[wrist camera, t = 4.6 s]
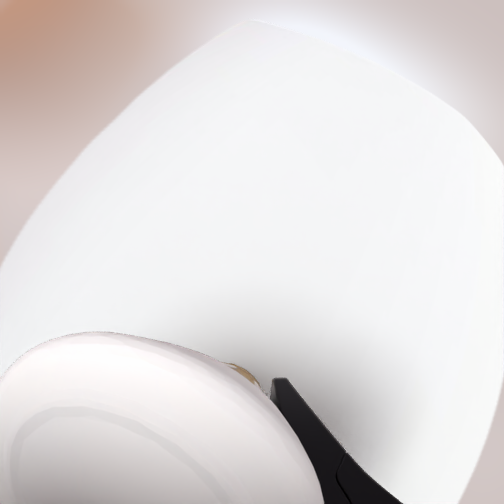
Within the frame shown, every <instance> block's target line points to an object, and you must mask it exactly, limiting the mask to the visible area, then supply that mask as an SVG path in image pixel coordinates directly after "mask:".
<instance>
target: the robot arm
mask: <svg viewBox="0 0 504 504" xmlns="http://www.w3.org/2000/svg"><path fill="white" fill-rule="evenodd" d="M270 400H271V401H272V402H273V403H274V405H275V406H276V407H277V408H278V410H279V411H280V412H281V413H282V415H283V416H284V418H285V419H286V421H287V422H288V423H289V425H290V426H291V428H292V429H293V431H294V432H295V434H296V435H297V437H298V439H299V440H300V442H301V444H302V446H303V448H304V450H305V452H306V453H307V455H308V457H309V459H310V461H311V463H312V465H313V467H314V470H315V473H316V475H317V478H318V481H319V483H320V487H321V491H322V496H323V500H324V504H403V503H402V502H400V501H399V500H398V499H396V498H395V497H394V496H393V495H392V494H390V493H389V492H388V491H387V490H385V489H384V488H383V487H382V486H381V485H379V484H378V483H377V482H376V481H375V480H374V479H372V478H371V477H370V476H369V475H368V474H367V473H366V472H365V471H364V470H363V469H362V468H361V467H360V466H359V465H358V464H357V463H356V462H355V461H354V459H353V458H352V457H351V456H350V455H349V454H348V453H346V450H345V449H344V448H343V447H342V446H341V444H340V443H339V442H338V441H337V440H336V438H335V437H334V436H333V435H332V434H331V433H330V431H329V430H328V429H327V428H326V427H325V425H324V424H323V423H322V422H321V420H320V419H319V418H318V417H317V416H316V414H315V413H314V412H313V411H312V409H311V408H310V407H309V406H308V405H307V403H306V402H305V401H304V400H303V398H302V397H301V396H300V395H299V393H298V392H297V391H296V390H295V388H294V387H293V386H292V385H291V383H290V382H289V381H288V379H287V378H273V380H272V386H271V394H270Z"/></svg>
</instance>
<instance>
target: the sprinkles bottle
mask: <svg viewBox="0 0 504 504" xmlns="http://www.w3.org/2000/svg"><path fill="white" fill-rule="evenodd" d="M0 504H324V500H323V496H322V491H321V487H320V483H319V481H318V478H317V475H316V473H315V470H314V467H313V465H312V463H311V461H310V459H309V457H308V455H307V453H306V452H305V450H304V448H303V446H302V444H301V442H300V440H299V439H298V437H297V435H296V434H295V432H294V431H293V429H292V428H291V426H290V425H289V423H288V422H287V421H286V419H285V418H284V416H283V415H282V413H281V412H280V411H279V410H278V408H277V407H276V406H275V405H274V403H273V402H272V401H271V400H270V399H269V398H268V397H267V396H266V395H265V394H264V392H263V391H262V389H261V387H260V385H259V383H258V381H257V380H256V379H255V378H254V377H253V376H252V375H251V374H250V373H249V372H248V371H247V370H245V369H243V368H241V367H239V366H237V365H235V364H231V363H223V362H219V361H217V360H215V359H213V358H212V357H210V356H207V355H205V354H202V353H200V352H196V351H193V350H190V349H187V348H184V347H181V346H177V345H174V344H171V343H167V342H162V341H157V340H153V339H147V338H143V337H138V336H133V335H126V334H120V333H113V332H83V333H77V334H71V335H66V336H62V337H59V338H55V339H51V340H49V341H47V342H44V343H42V344H39V345H37V346H36V347H34V348H32V349H30V350H29V351H27V352H26V353H25V354H23V355H22V356H21V357H19V358H18V359H17V360H16V361H15V362H14V363H13V364H12V365H11V366H10V367H9V368H8V369H7V371H6V372H5V373H4V374H3V376H2V377H1V379H0Z"/></svg>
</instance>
